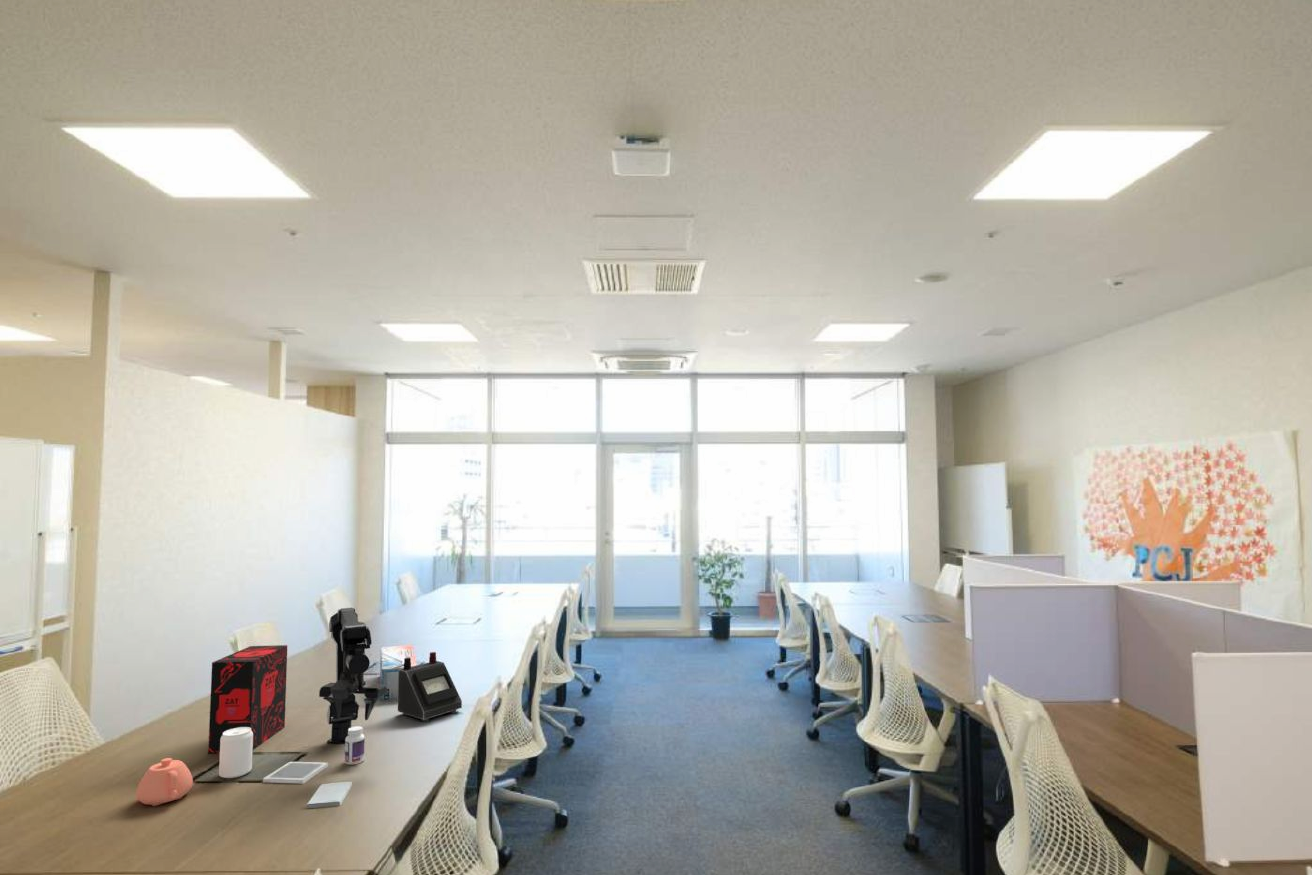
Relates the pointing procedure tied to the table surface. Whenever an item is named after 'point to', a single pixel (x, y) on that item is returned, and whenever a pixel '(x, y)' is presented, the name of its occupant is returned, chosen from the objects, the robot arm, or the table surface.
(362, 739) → the pill bottle
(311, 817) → the table surface
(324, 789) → the hard drive
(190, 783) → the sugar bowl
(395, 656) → the soda box
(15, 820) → the table surface
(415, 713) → the voltmeter
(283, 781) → the base slab
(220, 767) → the beverage can
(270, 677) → the box
